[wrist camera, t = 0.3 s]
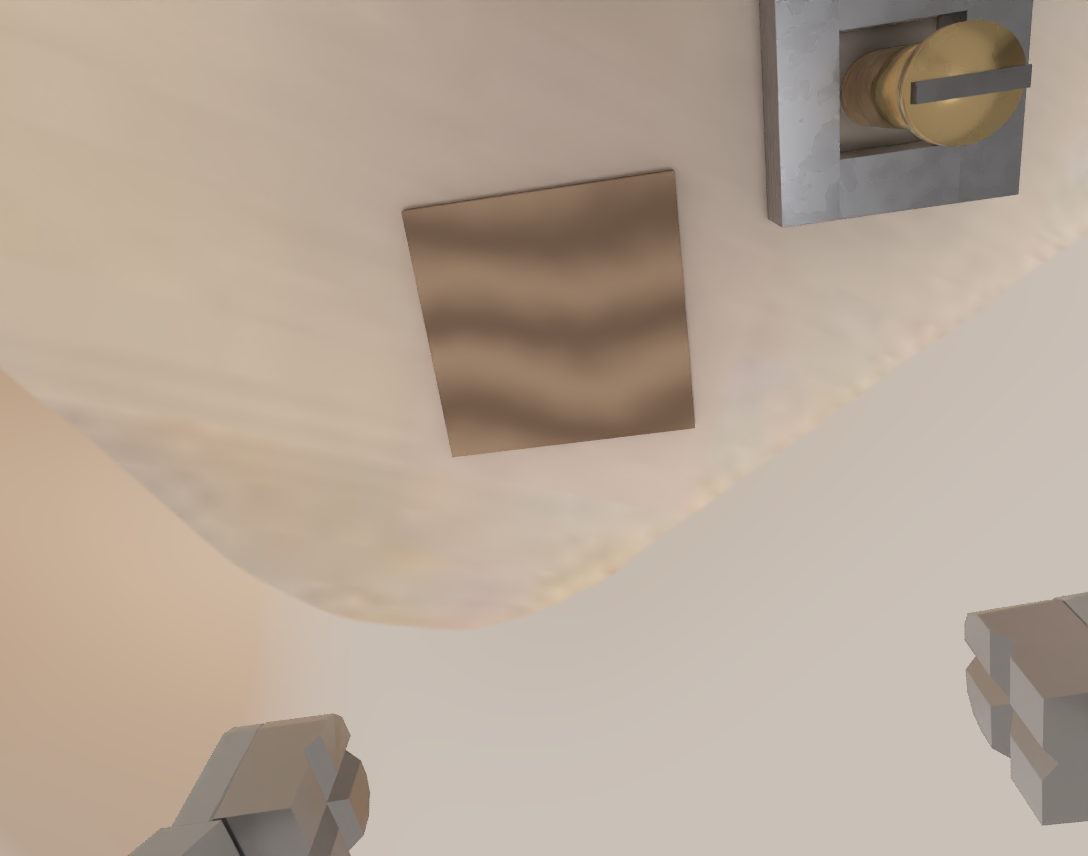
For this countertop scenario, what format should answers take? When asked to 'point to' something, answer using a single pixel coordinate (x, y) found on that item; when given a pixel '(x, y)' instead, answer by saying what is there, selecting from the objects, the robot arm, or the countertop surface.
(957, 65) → the brass peg
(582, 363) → the walnut board
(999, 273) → the countertop surface
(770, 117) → the metal socket
